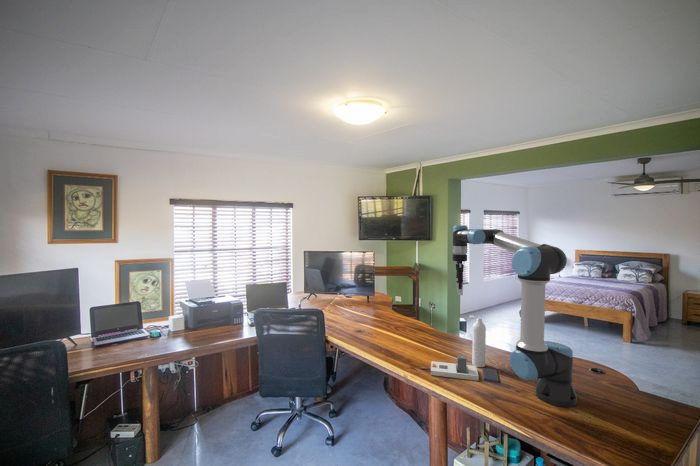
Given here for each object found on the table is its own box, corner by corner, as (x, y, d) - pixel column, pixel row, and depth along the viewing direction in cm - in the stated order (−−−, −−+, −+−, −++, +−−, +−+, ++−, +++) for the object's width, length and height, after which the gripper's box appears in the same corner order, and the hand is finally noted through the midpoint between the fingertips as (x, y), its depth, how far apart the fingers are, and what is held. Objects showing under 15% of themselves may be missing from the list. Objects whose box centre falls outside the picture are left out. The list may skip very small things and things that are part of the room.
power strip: (476, 370, 171) (476, 364, 171) (478, 380, 159) (478, 374, 159) (420, 364, 178) (420, 358, 178) (419, 373, 167) (419, 367, 166)
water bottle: (487, 365, 177) (488, 317, 177) (481, 368, 173) (482, 320, 172) (471, 360, 184) (472, 314, 183) (465, 363, 179) (466, 316, 179)
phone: (496, 373, 169) (496, 369, 169) (498, 383, 158) (498, 379, 158) (482, 371, 171) (482, 367, 171) (483, 381, 160) (483, 377, 160)
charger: (465, 371, 168) (465, 355, 168) (466, 375, 165) (466, 358, 164) (457, 370, 170) (457, 354, 169) (457, 374, 166) (457, 357, 165)
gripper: (451, 251, 196) (451, 288, 197) (453, 255, 172) (452, 296, 173) (465, 252, 194) (465, 288, 195) (468, 255, 170) (468, 297, 171)
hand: (459, 292), depth 184 cm, fingers open, 13 cm apart
